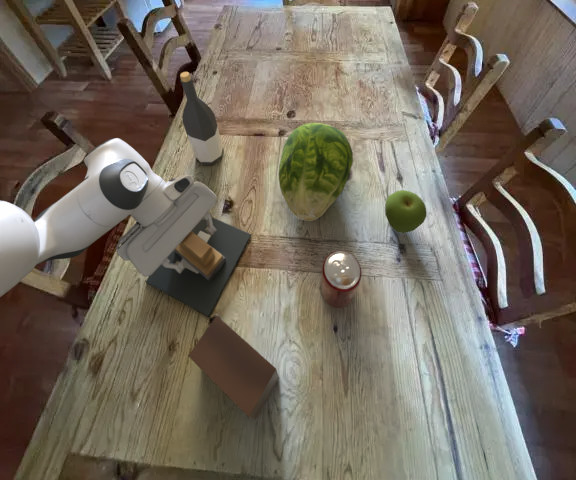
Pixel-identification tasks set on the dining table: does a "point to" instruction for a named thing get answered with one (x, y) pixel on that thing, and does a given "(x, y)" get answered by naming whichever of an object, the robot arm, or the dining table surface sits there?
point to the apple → (405, 211)
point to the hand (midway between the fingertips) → (198, 250)
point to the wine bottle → (200, 125)
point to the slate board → (190, 282)
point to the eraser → (200, 255)
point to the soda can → (340, 278)
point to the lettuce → (314, 169)
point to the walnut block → (235, 367)
